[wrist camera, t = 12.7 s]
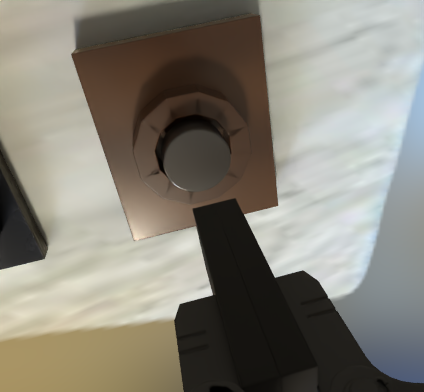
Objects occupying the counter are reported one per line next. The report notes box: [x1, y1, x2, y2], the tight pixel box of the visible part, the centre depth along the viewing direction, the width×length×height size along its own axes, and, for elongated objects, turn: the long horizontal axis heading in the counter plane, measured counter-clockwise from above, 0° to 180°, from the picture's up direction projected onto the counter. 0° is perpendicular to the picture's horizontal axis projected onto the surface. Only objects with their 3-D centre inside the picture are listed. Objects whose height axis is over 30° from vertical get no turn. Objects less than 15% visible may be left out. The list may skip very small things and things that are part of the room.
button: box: [161, 119, 231, 192], centre depth 21 cm, size 4×4×2 cm
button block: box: [71, 13, 278, 241], centre depth 23 cm, size 12×10×4 cm
